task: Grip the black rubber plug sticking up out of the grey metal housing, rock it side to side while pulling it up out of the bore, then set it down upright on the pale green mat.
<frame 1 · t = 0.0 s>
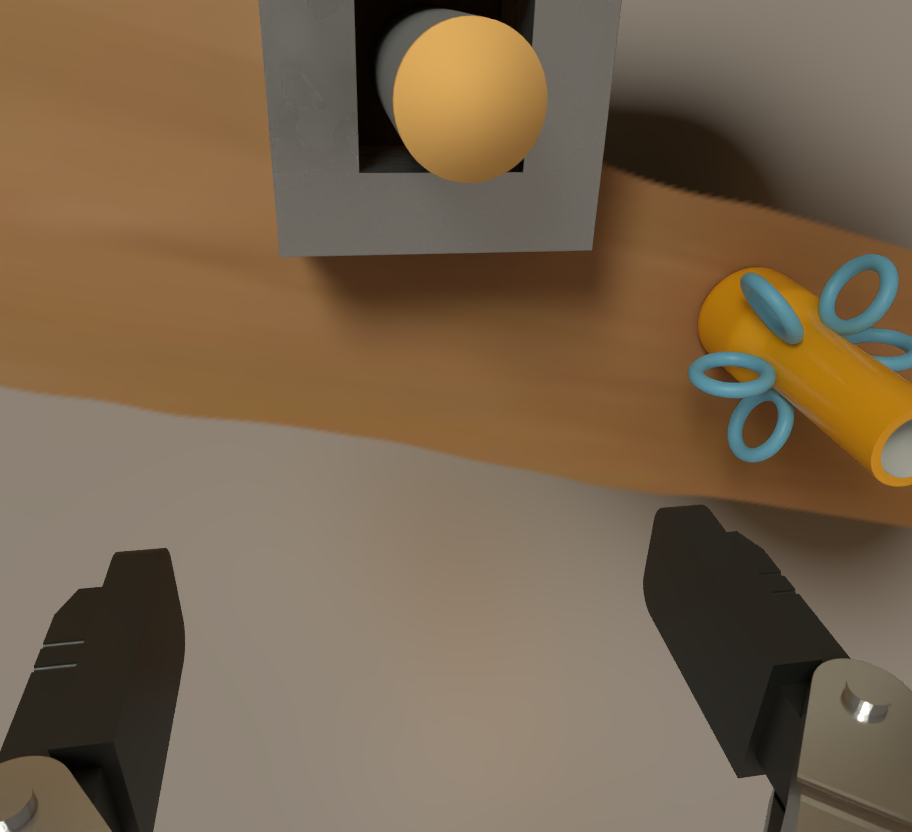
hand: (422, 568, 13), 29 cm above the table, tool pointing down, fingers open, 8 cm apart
housing: (424, 67, 36), on the table
yellow blue looped piece: (741, 313, 46), on the table
plug: (444, 82, 31), in the housing
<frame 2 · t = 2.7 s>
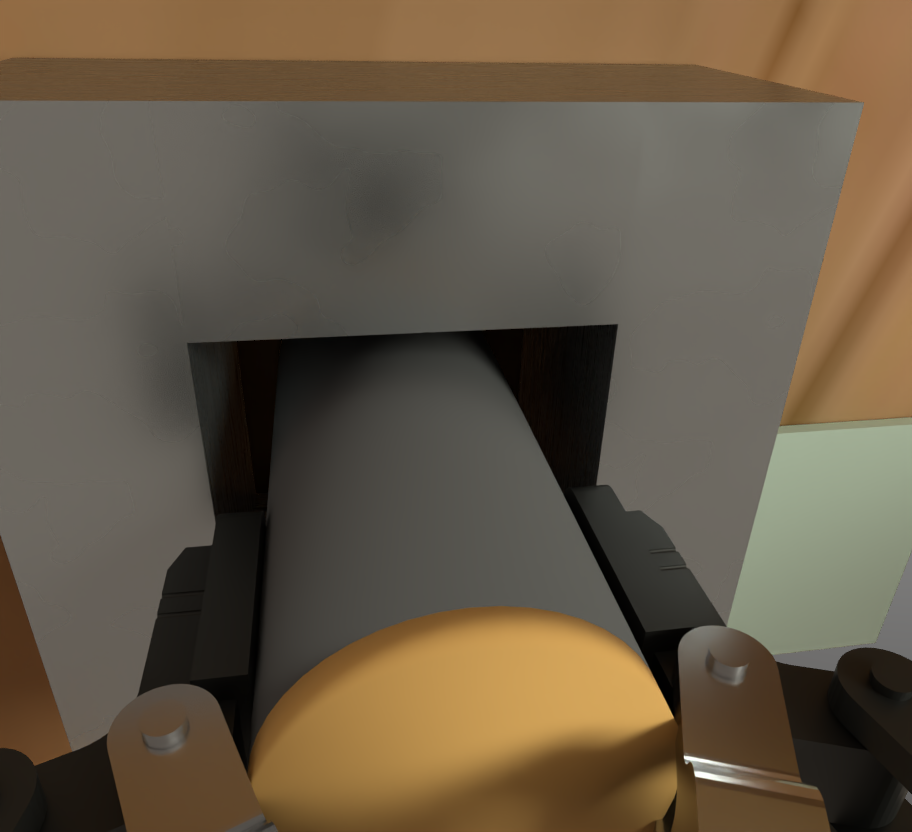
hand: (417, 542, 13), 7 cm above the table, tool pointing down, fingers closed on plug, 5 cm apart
housing: (384, 367, 19), on the table
mat: (781, 545, 25), on the table
plug: (412, 509, 14), in the housing, touching gripper
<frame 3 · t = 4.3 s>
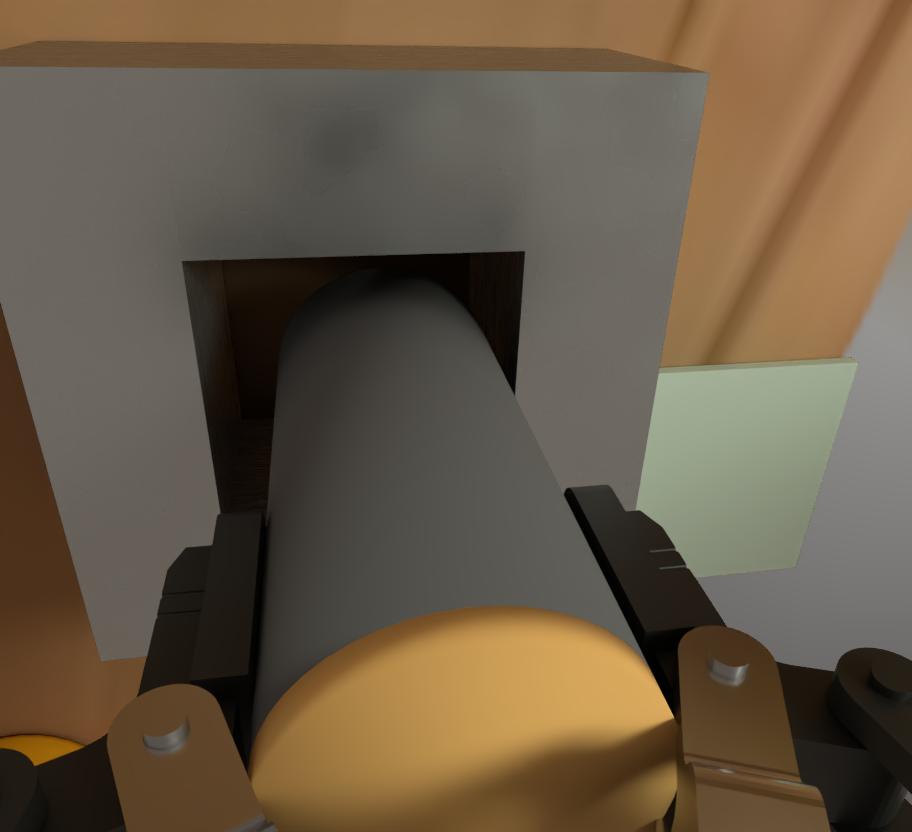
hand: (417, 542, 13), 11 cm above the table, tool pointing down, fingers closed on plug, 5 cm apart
housing: (351, 308, 23), on the table
yellow blue looped piece: (35, 778, 30), on the table
mat: (705, 476, 28), on the table
plug: (412, 508, 14), point 10 cm above the table, touching gripper
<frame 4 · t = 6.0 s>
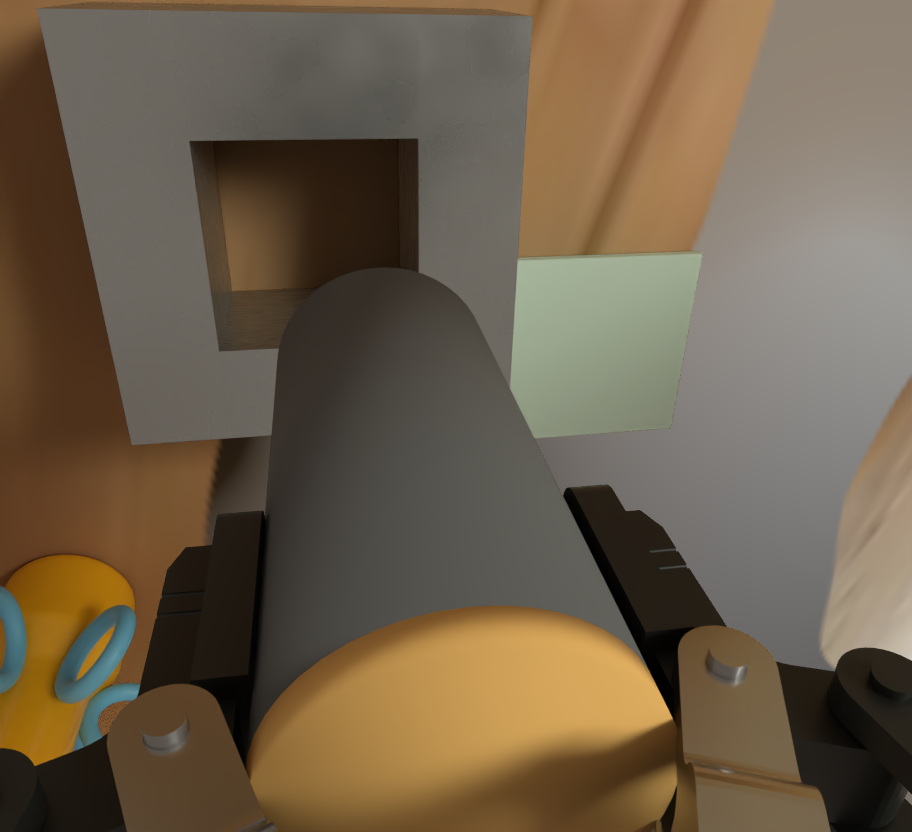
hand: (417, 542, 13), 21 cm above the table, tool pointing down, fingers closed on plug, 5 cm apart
housing: (311, 204, 31), on the table
yellow blue looped piece: (71, 596, 38), on the table
mat: (592, 347, 36), on the table
plug: (411, 508, 14), point 20 cm above the table, touching gripper
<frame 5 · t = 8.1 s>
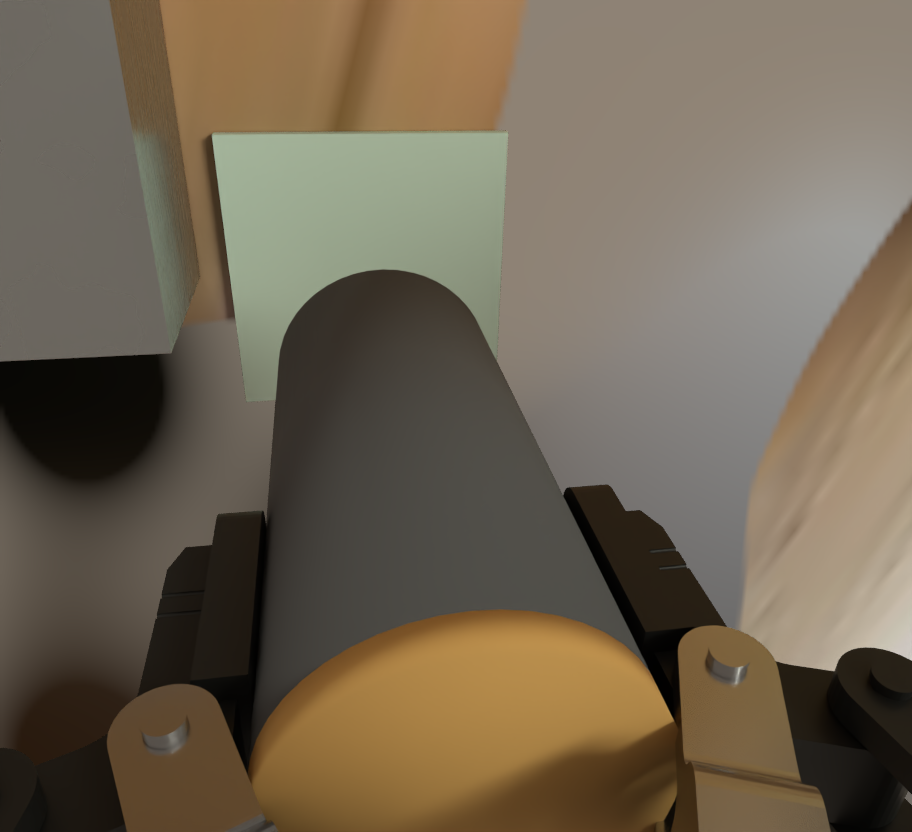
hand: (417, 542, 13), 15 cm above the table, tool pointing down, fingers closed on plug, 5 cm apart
mat: (368, 271, 26), on the table
plug: (412, 510, 14), point 14 cm above the table, touching gripper
when the fingers open (9 cm above the table, at t = 9.6 s): plug drops 2 cm, resting on mat.
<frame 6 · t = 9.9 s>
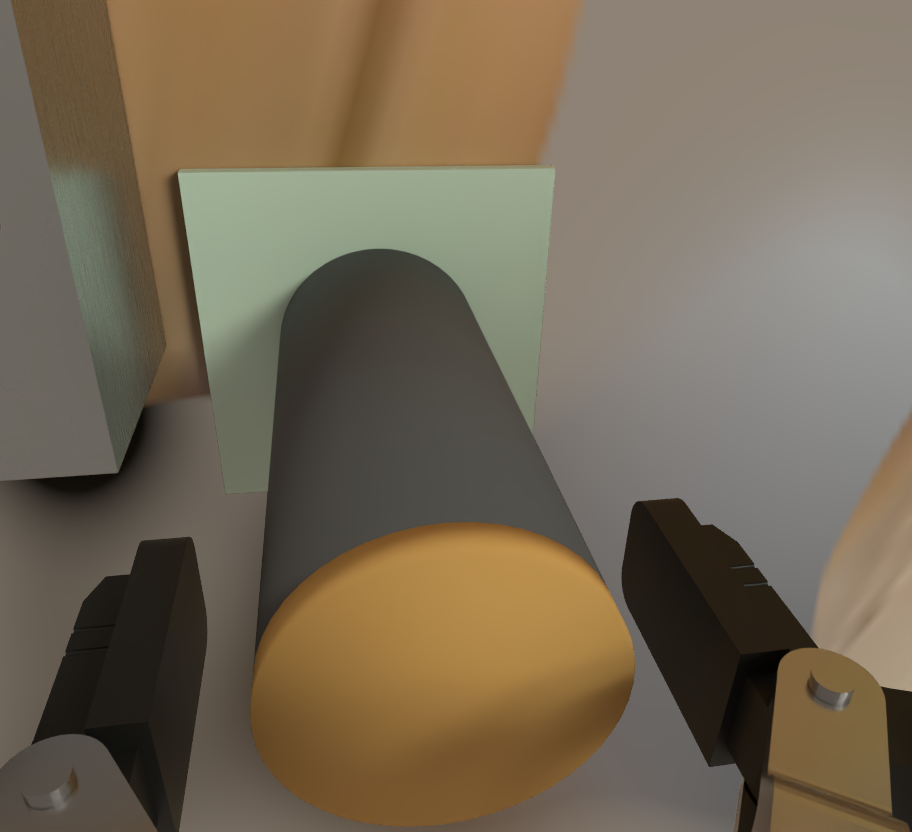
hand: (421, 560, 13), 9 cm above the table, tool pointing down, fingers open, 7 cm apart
mat: (377, 337, 21), on the table
plug: (403, 464, 16), on the mat
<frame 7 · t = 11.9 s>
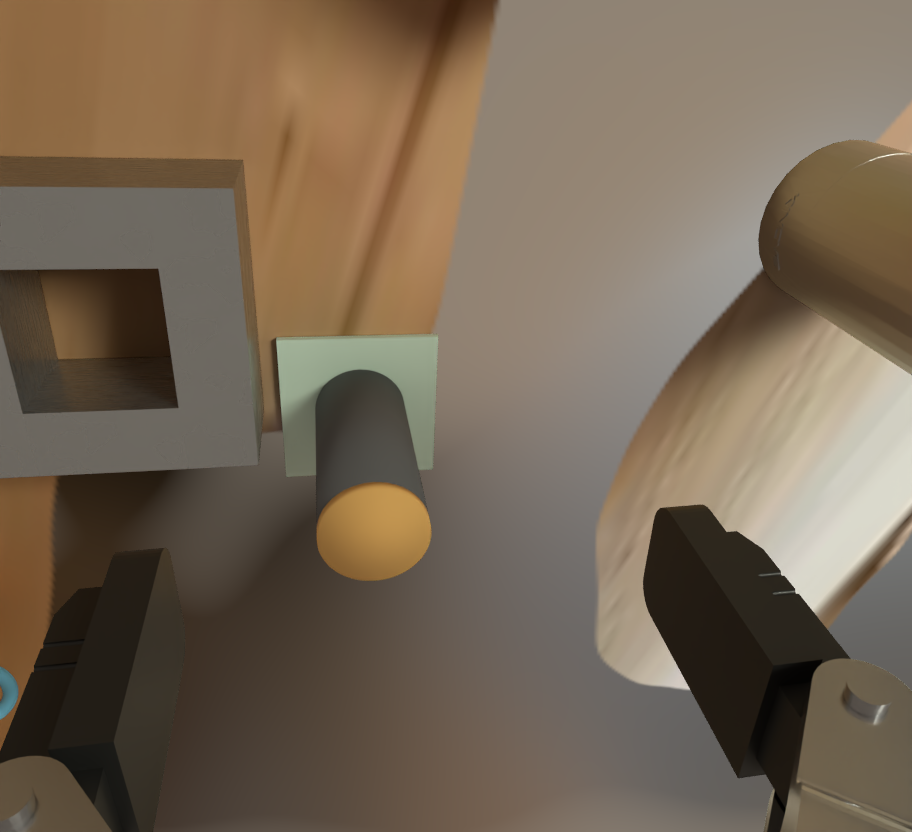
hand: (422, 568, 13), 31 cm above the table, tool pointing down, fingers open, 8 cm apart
housing: (116, 296, 40), on the table
mat: (359, 405, 46), on the table
plug: (366, 464, 40), on the mat
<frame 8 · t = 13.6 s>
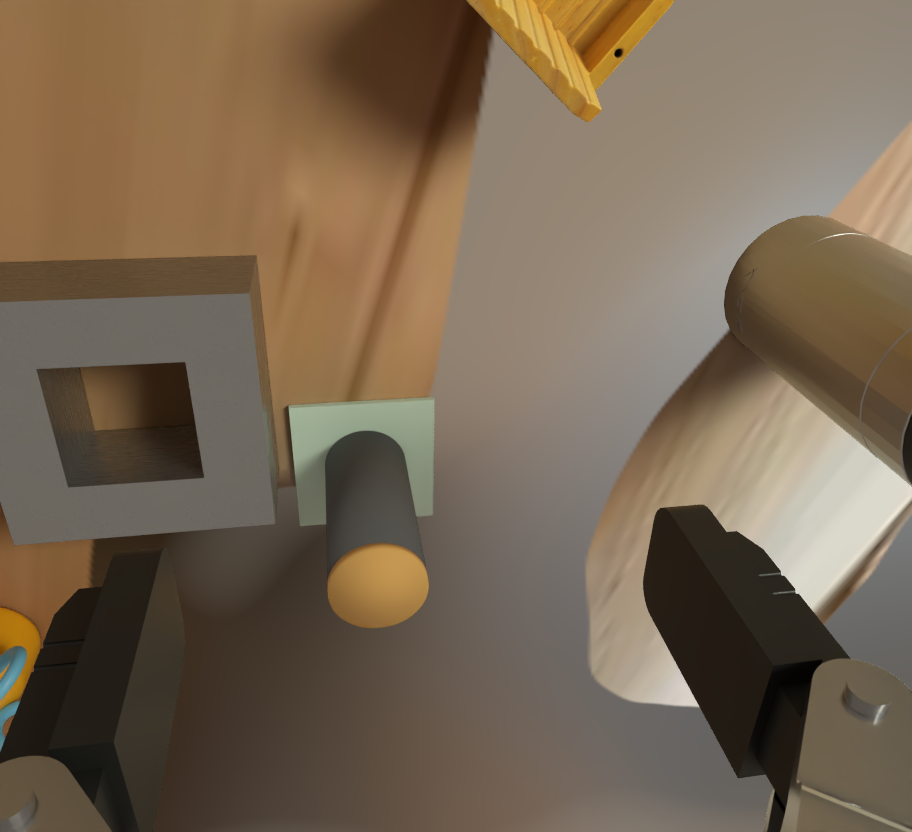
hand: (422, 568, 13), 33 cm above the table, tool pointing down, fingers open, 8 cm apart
housing: (145, 375, 45), on the table
mat: (364, 461, 51), on the table
plug: (371, 520, 45), on the mat
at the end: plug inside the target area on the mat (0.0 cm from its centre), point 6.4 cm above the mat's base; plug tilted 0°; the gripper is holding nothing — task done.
